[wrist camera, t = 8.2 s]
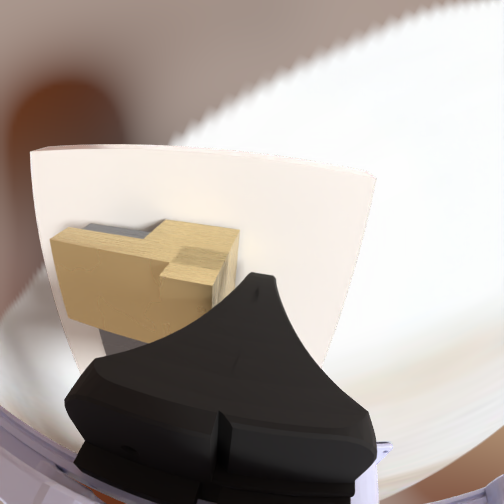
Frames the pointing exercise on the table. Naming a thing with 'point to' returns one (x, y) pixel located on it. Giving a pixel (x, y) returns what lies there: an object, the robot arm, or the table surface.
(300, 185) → the board
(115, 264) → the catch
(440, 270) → the table surface
